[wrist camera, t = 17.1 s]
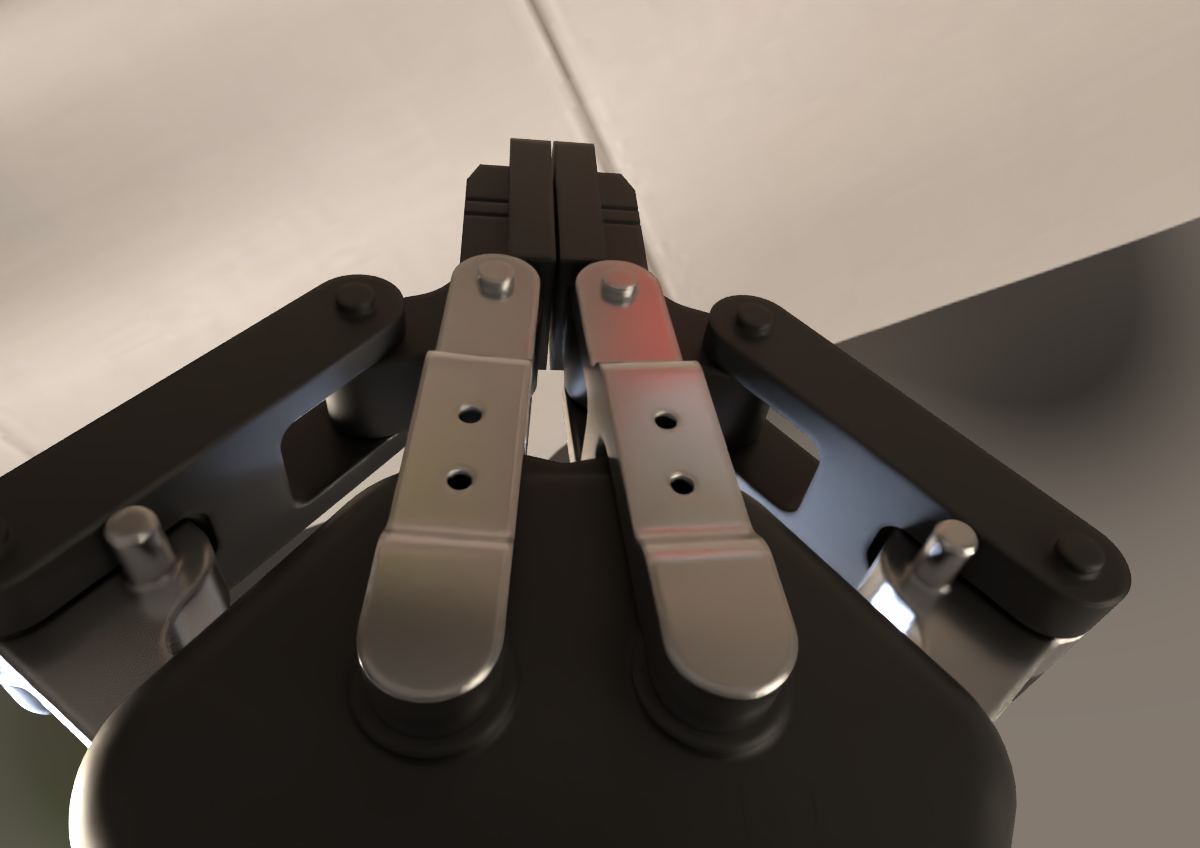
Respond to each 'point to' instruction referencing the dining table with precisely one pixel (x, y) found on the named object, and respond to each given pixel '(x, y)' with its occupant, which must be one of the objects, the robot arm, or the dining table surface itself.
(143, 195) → the dining table surface
